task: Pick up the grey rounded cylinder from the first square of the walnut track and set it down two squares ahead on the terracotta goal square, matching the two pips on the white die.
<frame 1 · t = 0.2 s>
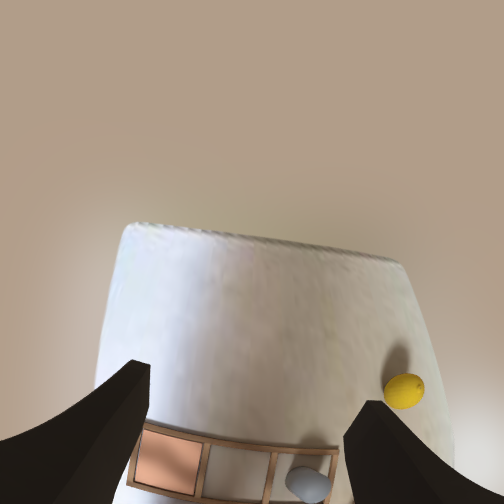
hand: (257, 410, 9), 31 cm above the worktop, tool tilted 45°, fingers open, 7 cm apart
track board: (236, 475, 31), on the worktop
grey rounded cylinder: (300, 480, 32), resting in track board
lemon: (387, 394, 40), on the worktop
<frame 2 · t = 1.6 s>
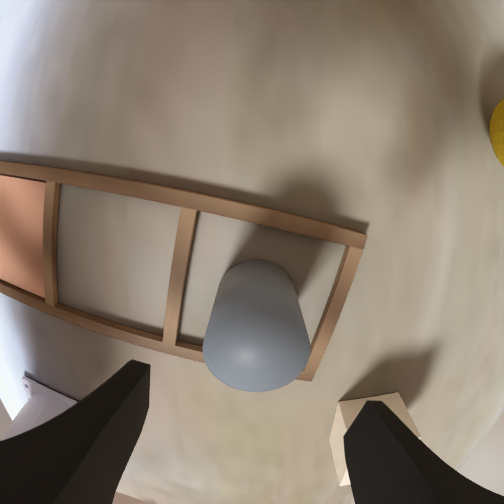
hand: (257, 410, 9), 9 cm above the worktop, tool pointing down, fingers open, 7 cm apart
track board: (108, 261, 16), on the worktop
die: (363, 418, 20), on the worktop
grey rounded cylinder: (256, 296, 17), resting in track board
lemon: (492, 137, 14), on the worktop
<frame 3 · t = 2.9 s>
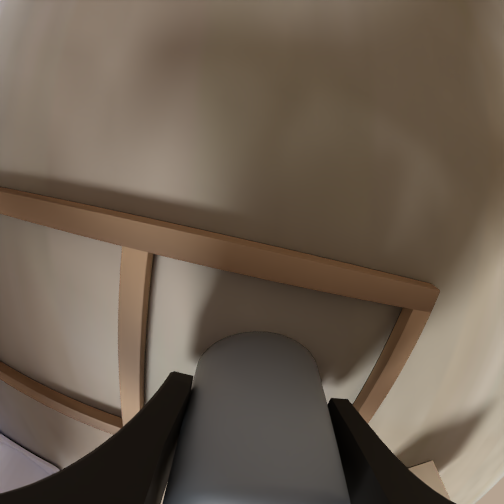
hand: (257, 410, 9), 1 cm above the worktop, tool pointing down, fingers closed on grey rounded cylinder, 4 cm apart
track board: (37, 318, 9), on the worktop
die: (387, 488, 13), on the worktop
grey rounded cylinder: (257, 382, 10), resting in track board, touching gripper
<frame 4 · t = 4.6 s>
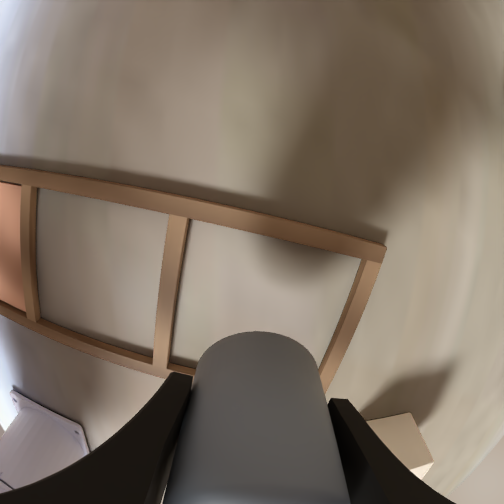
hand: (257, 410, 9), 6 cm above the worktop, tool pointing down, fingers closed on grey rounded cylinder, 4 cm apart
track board: (90, 274, 14), on the worktop
die: (371, 438, 18), on the worktop
grey rounded cylinder: (257, 381, 10), point 5 cm above the worktop, touching gripper
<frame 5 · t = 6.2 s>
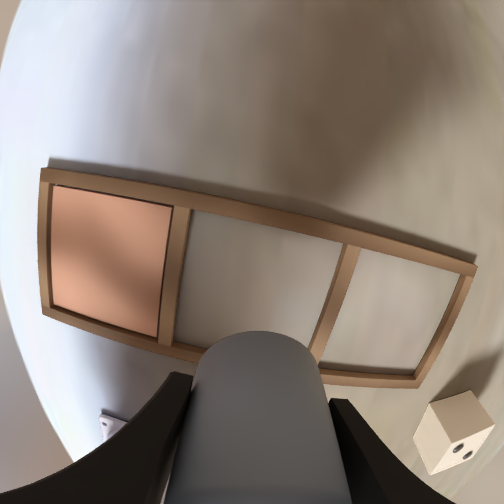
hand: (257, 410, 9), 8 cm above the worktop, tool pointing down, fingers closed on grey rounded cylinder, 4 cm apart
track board: (252, 296, 17), on the worktop
die: (442, 415, 20), on the worktop
grey rounded cylinder: (257, 381, 10), point 7 cm above the worktop, touching gripper
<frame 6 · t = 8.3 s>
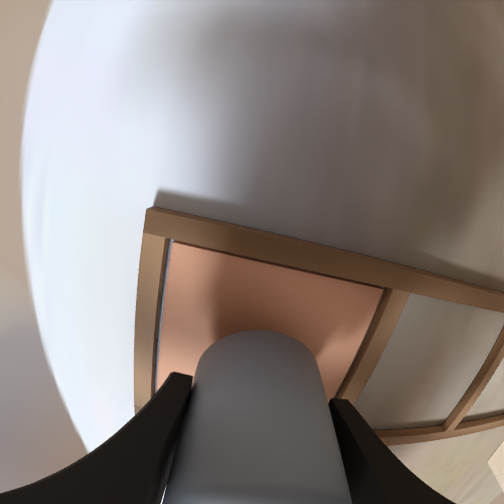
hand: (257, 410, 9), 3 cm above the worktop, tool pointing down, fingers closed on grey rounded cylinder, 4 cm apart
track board: (430, 374, 12), on the worktop
grey rounded cylinder: (257, 381, 10), point 2 cm above the worktop, touching gripper
when the fingers open (2 cm above the worktop, at t = 9.7 s): grey rounded cylinder stays where it is, resting on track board.
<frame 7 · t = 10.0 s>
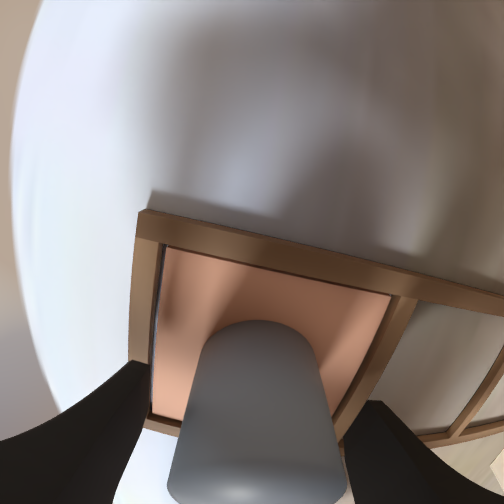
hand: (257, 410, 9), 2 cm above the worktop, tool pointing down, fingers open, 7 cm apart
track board: (436, 382, 11), on the worktop
grey rounded cylinder: (257, 369, 11), resting on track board
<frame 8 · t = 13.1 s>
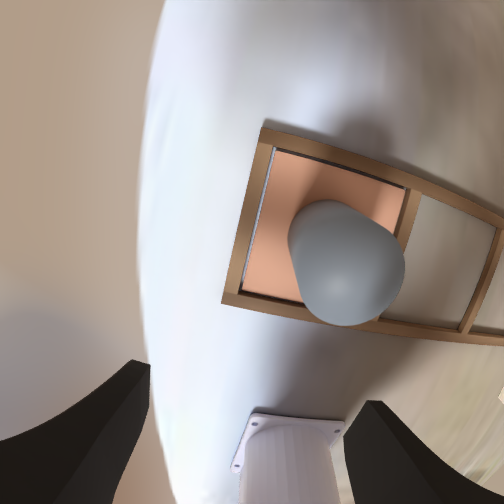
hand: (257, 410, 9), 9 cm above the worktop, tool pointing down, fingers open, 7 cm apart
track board: (443, 270, 17), on the worktop
grey rounded cylinder: (326, 238, 16), resting on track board
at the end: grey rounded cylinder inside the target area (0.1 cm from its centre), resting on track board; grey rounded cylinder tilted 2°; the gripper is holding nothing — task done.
